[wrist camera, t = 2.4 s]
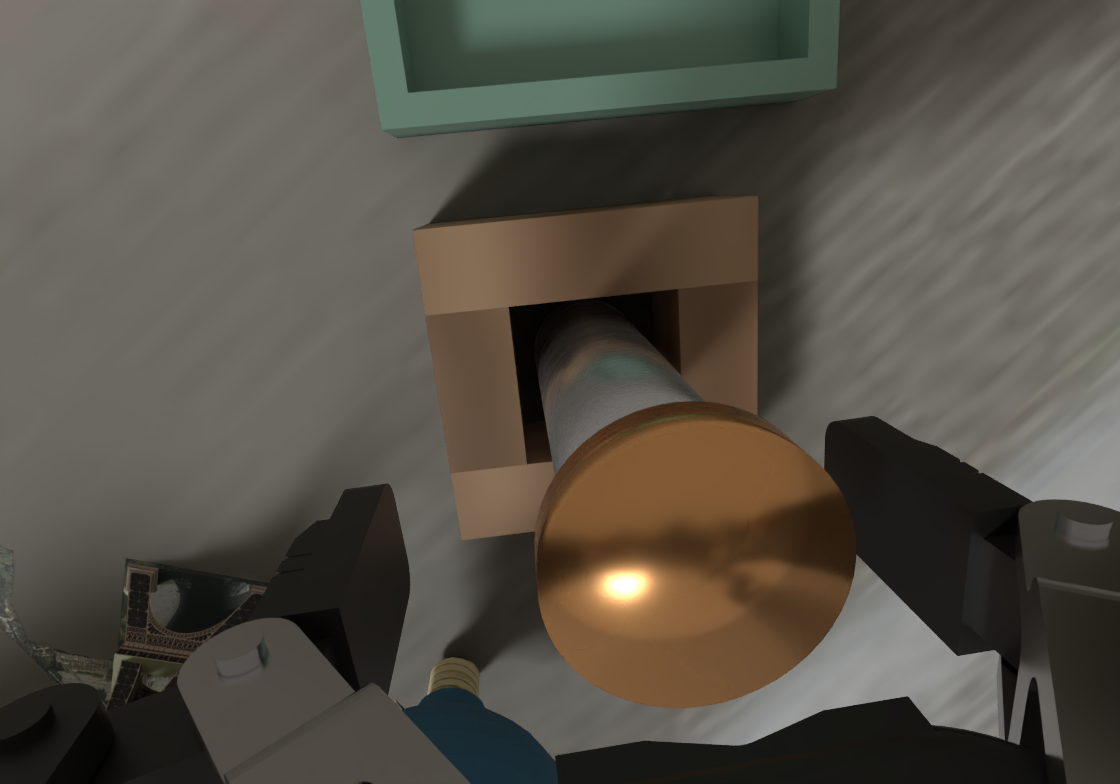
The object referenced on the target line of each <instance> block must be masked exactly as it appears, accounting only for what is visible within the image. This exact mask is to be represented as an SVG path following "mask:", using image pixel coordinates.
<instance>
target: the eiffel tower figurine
mask: <svg viewBox="0 0 1120 784" xmlns="http://www.w3.org/2000/svg"><path fill="white" fill-rule="evenodd" d="M13 579H14V556H13V550H10V549H8V548H5V547H2V546H0V628H2V629H3V630H4V631H5V632H6V633H7V634H8V635H9V636H10V637H11V638H12V639H13V640H14V641H16V642H17V643H18V644H19V645H20V646H21V647H22V648H23V649H24V650H25V651H26V652H27V653H28V654H29V655H30V656H31V657H32V658H33V659H34V660H35V661H36V662H37V663H38V664H39V665H40V666H41V667H42V668H43V669H44V670H45V671H46V672H47V673H48V674H49V675H51V676H52V677H53V678H54V679H55V680H56V681H57V682H58V683H59V684H60V685H61V684H68V683H84V684H88V685H91V686H93V687H94V688H95V689H96V690H97V691H98V694H99V696H100V698H101V701H102V703H103V705H104V708H105V710H106V711H108V710H111V709H114V708H116V707H119V706H122V705H125V704H128V703H130V702H133V701H136V700H139V699H141V698H144V697H147V696H150V695H153V694H155V693H158V692H161V691H164V690H166V689H169V688H171V687H174V686H176V685H178V684H177V679H178V674H179V671H180V669H181V667H182V666H183V664H184V662H185V661H186V660H187V659H188V658H189V656H190V655H191V654H192V653H193V652H194V651H195V650H197V649H198V648H199V647H200V646H201V645H203V644H204V643H205V642H207V641H208V640H210V639H211V638H213V637H214V636H216V635H218V634H220V633H221V632H223V631H225V630H227V629H230V628H232V627H234V626H237V625H240V624H242V623H245V622H247V621H248V620H249V618H250V616H251V615H252V613H253V611H254V609H255V608H256V606H257V604H258V602H259V601H260V599H261V597H262V595H263V594H264V592H265V590H266V589H267V587H268V585H269V583H263V582H258V581H252V580H246V579H241V578H235V577H229V576H223V575H218V574H212V573H206V572H201V571H195V570H189V569H183V568H178V567H172V566H166V565H161V564H155V563H149V562H144V561H138V560H132V559H126V564H125V575H124V587H123V599H122V611H121V623H120V635H119V646H118V650H117V651H116V653H115V654H114V660H101V659H96V658H91V657H86V656H81V655H76V654H70V653H66V652H64V651H61V650H57V649H53V648H49V647H45V646H42V645H40V644H38V643H36V642H34V641H32V640H29V639H28V638H27V636H26V634H25V632H24V629H23V627H22V625H21V623H20V621H19V618H18V616H17V614H16V612H15V610H14V607H13V605H12V603H11V597H12V588H13ZM392 701H393V702H394V703H395V704H396V705H397V706H398V707H399V708H400V709H401V710H402V708H401V707H400V705H399V704H398V702H397V701H396V699H394V700H392Z"/></svg>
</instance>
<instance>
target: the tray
mask: <svg viewBox="0 0 1120 784" xmlns="http://www.w3.org/2000/svg"><path fill="white" fill-rule="evenodd" d="M360 3H361V9H362V15H363V21H364V27H365V33H366V39H367V45H368V51H369V57H370V63H371V69H372V75H373V81H374V87H375V93H376V99H377V105H378V111H379V117H380V123H381V129H382V130H383V131H385V132H387V133H389V134H391V135H393V136H395V137H397V138H403V137H413V136H424V135H435V134H446V133H457V132H468V131H479V130H490V129H500V128H511V127H522V126H533V125H544V124H555V123H566V122H576V121H587V120H598V119H609V118H620V117H631V116H642V115H653V114H663V113H674V112H685V111H696V110H707V109H718V108H729V107H739V106H750V105H761V104H772V103H783V102H794V101H798V100H801V99H804V98H808V97H811V96H814V95H817V94H820V93H823V92H827V91H830V90H833V89H836V88H837V67H838V42H839V17H840V0H360Z"/></svg>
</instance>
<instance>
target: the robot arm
mask: <svg viewBox="0 0 1120 784" xmlns="http://www.w3.org/2000/svg"><path fill="white" fill-rule="evenodd" d="M824 470H825V471H826V472H827V473H828V474H829V475H830V477H831V478H832V479H833V481H834V482H835V484H836V485H837V486H838V488H839V489H840V491H841V493H842V495H843V497H844V499H845V501H846V503H847V505H848V508H849V511H850V514H851V517H852V520H853V525H854V531H855V537H856V554H857V555H858V556H859V557H860V558H861V559H862V560H863V561H864V562H865V563H866V564H867V565H868V566H869V567H870V568H871V569H872V570H873V571H874V572H875V573H876V574H877V575H878V576H879V577H880V578H881V579H882V580H883V581H884V582H885V583H886V584H887V585H888V586H889V587H890V588H891V589H892V590H893V591H894V592H895V594H896V595H897V596H898V597H899V598H900V599H901V600H902V601H903V602H904V603H905V604H906V605H907V606H908V607H909V608H910V609H911V610H912V611H913V612H914V613H915V614H916V615H917V616H918V617H919V618H920V619H921V620H922V621H923V622H924V623H925V624H926V625H927V626H928V627H929V628H930V629H931V630H932V631H933V632H934V633H935V634H936V635H937V636H938V637H939V638H940V639H941V640H942V641H943V642H944V643H945V644H946V645H947V646H948V647H949V648H950V649H951V650H952V651H953V652H954V653H955V654H956V655H957V656H960V655H966V654H972V653H978V652H984V651H990V650H996V651H997V652H998V653H999V662H998V669H997V700H998V725H999V738H997V737H994V736H990V735H986V734H982V733H978V732H974V731H969V730H965V729H958V728H952V727H945V726H935V725H931V724H930V723H929V722H928V720H927V719H926V718H925V717H924V716H923V714H922V713H921V712H920V711H919V709H918V708H917V707H916V706H915V704H914V703H913V702H912V701H911V700H910V698H909V697H908V696H907V697H901V698H895V699H889V700H883V701H877V702H871V703H865V704H859V705H853V706H847V707H842V708H836V709H830V710H824V711H821V712H819V713H817V714H815V715H812V716H810V717H808V718H806V719H803V720H801V721H799V722H797V723H795V724H792V725H790V726H788V727H786V728H783V729H781V730H779V731H777V732H774V733H772V734H770V735H768V736H766V737H763V738H761V739H759V740H757V741H754V742H752V743H749V744H746V745H740V746H730V745H712V744H693V743H675V742H656V741H640V742H634V743H628V744H622V745H616V746H611V747H605V748H599V749H593V750H587V751H581V752H575V753H569V754H563V755H557V756H555V758H556V767H557V777H558V784H1120V512H1119V511H1116V510H1113V509H1110V508H1107V507H1103V506H1100V505H1095V504H1091V503H1086V502H1080V501H1072V500H1057V499H1054V500H1041V501H1035V502H1032V501H1031V500H1029V499H1027V498H1025V497H1024V496H1022V495H1020V494H1018V493H1017V492H1015V491H1013V490H1012V489H1010V488H1008V487H1006V486H1005V485H1003V484H1001V483H999V482H998V481H996V480H994V479H993V478H991V477H989V476H987V475H986V474H984V473H980V474H979V472H978V470H977V469H975V468H974V467H972V466H970V465H968V464H967V463H965V462H960V459H958V458H956V457H955V456H953V455H951V454H949V453H948V452H946V451H944V450H942V449H941V448H939V447H937V446H934V445H931V444H928V443H924V442H921V441H918V440H915V439H913V438H911V437H909V436H908V435H906V434H904V433H903V432H901V431H899V430H898V429H896V428H894V427H893V426H891V425H889V424H888V423H886V422H884V421H882V420H881V419H879V418H877V417H875V416H869V417H862V418H855V419H848V420H840V421H834V422H831V423H830V424H829V425H828V427H827V430H826V434H825V462H824ZM409 594H410V572H409V564H408V558H407V554H406V549H405V544H404V540H403V535H402V530H401V526H400V521H399V516H398V512H397V507H396V502H395V498H394V494H393V491H392V488H391V486H390V485H389V484H381V485H374V486H367V487H360V488H353V489H346V490H345V491H344V492H343V494H342V496H341V498H340V500H339V502H338V504H337V506H336V508H335V510H334V512H333V514H332V516H331V518H330V519H328V520H321V521H316V522H315V523H314V524H312V525H311V526H310V527H309V528H308V529H306V530H305V531H304V532H303V533H302V534H300V535H299V536H298V537H297V538H295V540H294V542H293V543H292V545H291V547H290V549H289V550H288V552H287V554H286V556H285V561H282V563H281V564H280V566H279V568H278V569H277V571H276V577H273V578H272V580H271V582H270V583H269V585H268V587H267V589H266V590H265V592H264V594H263V595H262V597H261V599H260V601H259V602H258V604H257V606H256V608H255V609H254V611H253V613H252V615H251V616H250V618H249V620H248V621H247V622H245V623H242V624H240V625H237V626H234V627H232V628H230V629H227V630H225V631H223V632H221V633H220V634H218V635H216V636H214V637H213V638H211V639H210V640H208V641H207V642H205V643H204V644H203V645H201V646H200V647H199V648H198V649H197V650H195V651H194V652H193V653H192V654H191V655H190V656H189V658H188V659H187V660H186V661H185V662H184V664H183V666H182V667H181V669H180V671H179V674H178V679H177V684H178V685H176V686H174V687H171V688H169V689H166V690H164V691H161V692H158V693H155V694H153V695H150V696H147V697H144V698H141V699H139V700H136V701H133V702H130V703H128V704H125V705H122V706H119V707H116V708H114V709H111V710H108V711H106V710H105V708H104V705H103V703H102V701H101V698H100V696H99V694H98V691H97V690H96V689H95V688H94V687H93V686H91V685H88V684H84V683H68V684H61V685H57V686H52V687H49V688H46V689H42V690H39V691H37V692H34V693H32V694H29V695H27V696H24V697H22V698H20V699H18V700H16V701H14V702H12V703H10V704H8V705H6V706H5V707H3V708H1V709H0V784H471V783H470V782H469V781H468V780H467V779H466V778H465V777H464V776H463V775H462V774H461V773H460V772H459V771H458V770H457V769H456V767H455V766H454V765H453V764H452V763H451V762H450V761H449V760H448V759H447V758H446V757H445V756H444V755H443V754H442V753H441V752H440V750H439V749H438V748H437V747H436V746H435V745H434V744H433V743H432V742H431V741H430V740H429V739H428V738H427V737H426V736H425V735H424V733H423V732H422V731H421V730H420V729H419V728H418V727H417V726H416V725H415V724H414V723H413V722H412V721H411V720H410V719H409V718H408V716H407V715H406V714H405V713H404V712H403V711H402V710H401V709H400V708H399V707H398V706H397V705H396V704H395V703H394V702H393V701H392V700H391V698H390V697H389V696H388V693H389V688H390V684H391V679H392V674H393V670H394V665H395V660H396V656H397V651H398V646H399V642H400V637H401V632H402V627H403V623H404V618H405V613H406V609H407V604H408V599H409Z"/></svg>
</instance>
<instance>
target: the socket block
mask: <svg viewBox="0 0 1120 784" xmlns="http://www.w3.org/2000/svg"><path fill="white" fill-rule="evenodd" d="M412 235H413V241H414V247H415V254H416V260H417V266H418V272H419V278H420V285H421V291H422V297H423V303H424V310H425V316H426V322H427V328H428V335H429V341H430V347H431V353H432V360H433V366H434V372H435V378H436V384H437V391H438V397H439V403H440V409H441V416H442V422H443V428H444V434H445V441H446V447H447V453H448V459H449V465H450V472H451V478H452V484H453V490H454V497H455V503H456V509H457V515H458V522H459V528H460V534H461V540H470V539H478V538H486V537H494V536H502V535H510V534H518V533H526V532H534V531H535V528H536V521H537V517H538V513H539V509H540V506H541V503H542V501H543V498H544V496H545V493H546V491H547V489H548V487H549V485H550V483H551V482H552V480H553V478H554V477H555V473H554V468H553V462H552V456H551V450H550V444H549V438H548V433H547V427H546V421H545V420H540V421H531V422H524V419H523V411H522V402H521V394H520V385H519V377H518V368H517V360H516V351H515V343H514V334H513V326H512V317H511V309H510V307H512V306H522V305H531V304H541V303H550V302H559V301H569V300H578V299H588V298H597V297H607V296H616V295H625V294H635V293H644V292H651V302H652V323H653V344H654V347H655V349H656V350H657V351H658V352H659V353H660V354H661V355H662V356H663V357H664V358H665V359H666V360H667V361H668V362H669V363H670V364H671V365H672V366H673V367H674V368H675V370H676V371H677V372H678V373H679V374H680V375H681V376H682V377H683V378H684V379H685V380H686V381H687V382H688V383H689V384H690V385H691V386H692V387H693V388H694V389H695V390H696V392H697V393H698V394H699V395H700V396H701V397H702V398H703V399H704V400H705V401H706V402H715V403H719V404H724V405H729V406H734V407H737V408H739V409H742V410H745V411H748V412H751V413H753V414H755V415H757V384H758V196H728V195H714V196H704V197H694V198H684V199H674V200H664V201H654V202H644V203H634V204H623V205H613V206H603V207H593V208H583V209H573V210H563V211H553V212H543V213H532V214H522V215H512V216H502V217H492V218H482V219H472V220H462V221H452V222H442V223H431V224H426V225H424V226H421V227H419V228H416V229H414V230H412Z"/></svg>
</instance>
